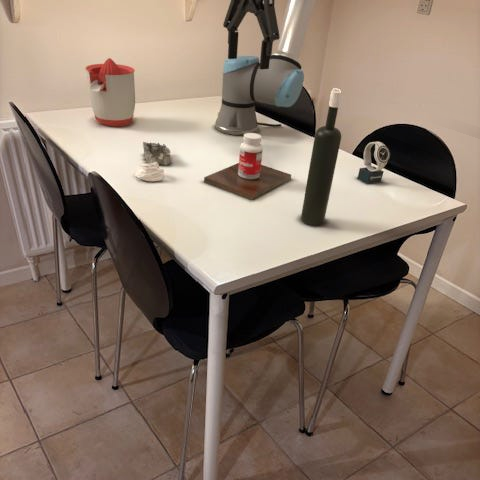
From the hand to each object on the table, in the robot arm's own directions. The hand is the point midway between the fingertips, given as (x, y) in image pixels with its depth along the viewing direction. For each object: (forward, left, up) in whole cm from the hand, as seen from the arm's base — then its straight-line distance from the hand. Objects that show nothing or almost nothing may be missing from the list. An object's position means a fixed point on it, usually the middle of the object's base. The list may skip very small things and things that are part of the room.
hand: (247, 63), depth 131 cm
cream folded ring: (+32, 0, -27) cm, 42 cm away
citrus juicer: (+18, -48, -27) cm, 58 cm away
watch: (-24, +32, -27) cm, 48 cm away
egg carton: (+23, -11, -27) cm, 37 cm away
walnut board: (+9, +15, -27) cm, 32 cm away
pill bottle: (+9, +15, -25) cm, 31 cm away
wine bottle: (+11, +42, -27) cm, 51 cm away
